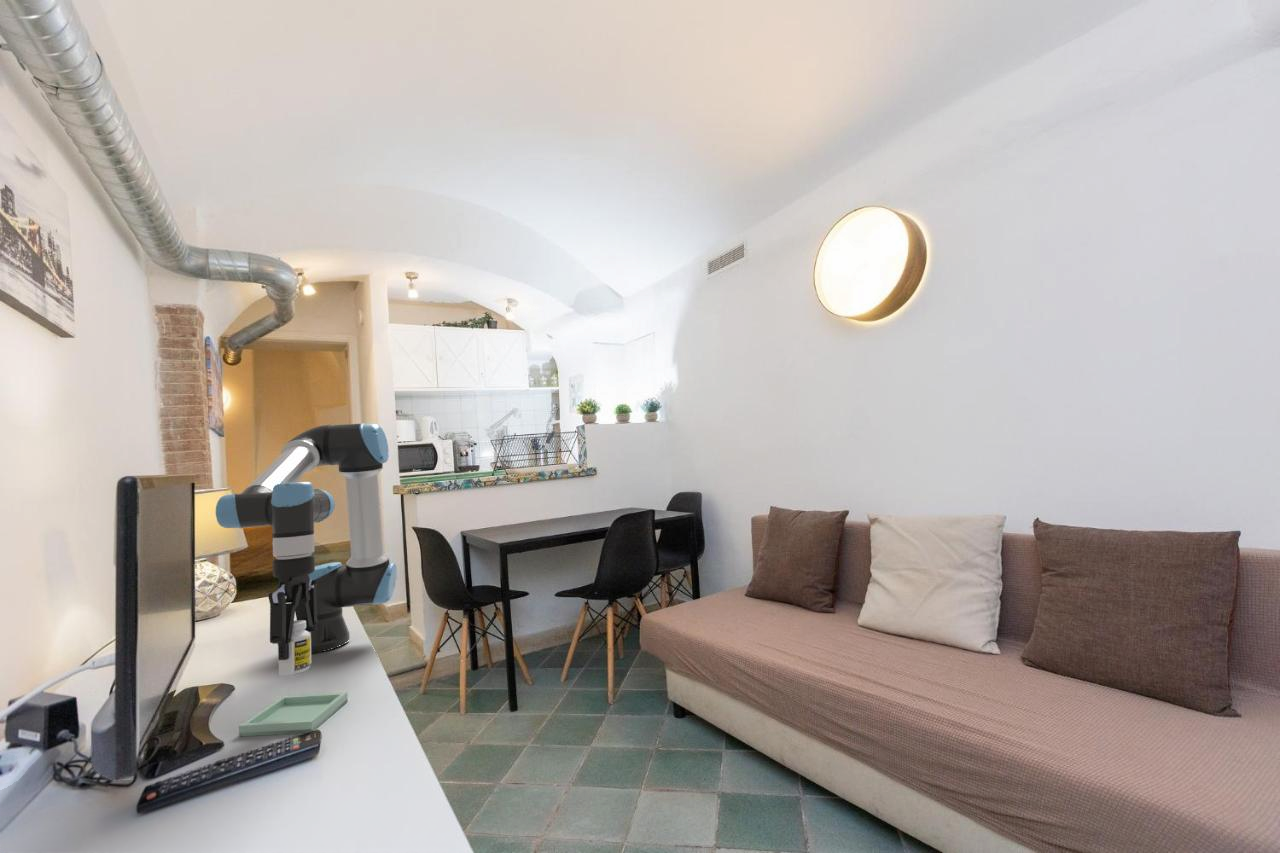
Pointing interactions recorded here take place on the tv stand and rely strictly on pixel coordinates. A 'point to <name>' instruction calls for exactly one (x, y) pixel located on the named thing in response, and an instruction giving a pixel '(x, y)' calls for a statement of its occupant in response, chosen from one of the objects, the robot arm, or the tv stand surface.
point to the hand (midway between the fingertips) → (295, 669)
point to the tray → (294, 714)
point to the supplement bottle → (301, 646)
